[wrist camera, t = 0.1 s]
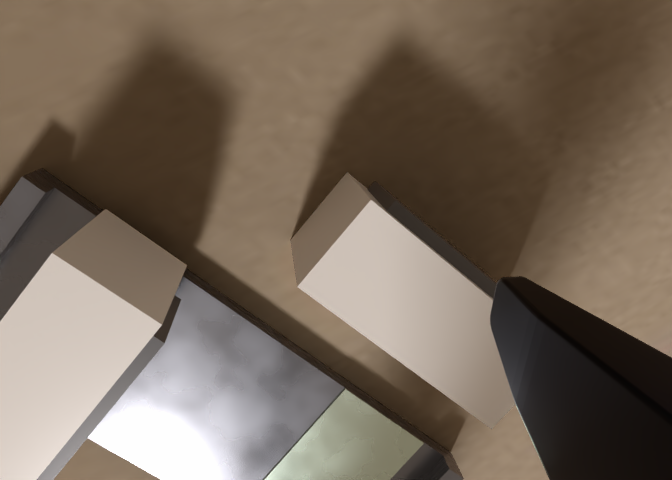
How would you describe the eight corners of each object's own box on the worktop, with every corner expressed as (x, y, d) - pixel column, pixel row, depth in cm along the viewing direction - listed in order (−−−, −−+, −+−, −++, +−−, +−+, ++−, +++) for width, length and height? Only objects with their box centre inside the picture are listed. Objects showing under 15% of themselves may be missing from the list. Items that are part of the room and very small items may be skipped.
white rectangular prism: (445, 357, 28) (491, 429, 22) (290, 239, 25) (297, 286, 20) (506, 290, 27) (570, 347, 22) (353, 162, 25) (380, 188, 19)
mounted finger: (66, 437, 25) (8, 541, 20) (-29, 384, 24) (-120, 479, 18) (198, 273, 24) (177, 334, 18) (105, 208, 23) (52, 252, 17)
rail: (341, 567, 31) (347, 599, 29) (-75, 328, 24) (-105, 349, 22) (450, 452, 29) (463, 478, 27) (41, 168, 23) (21, 176, 21)
